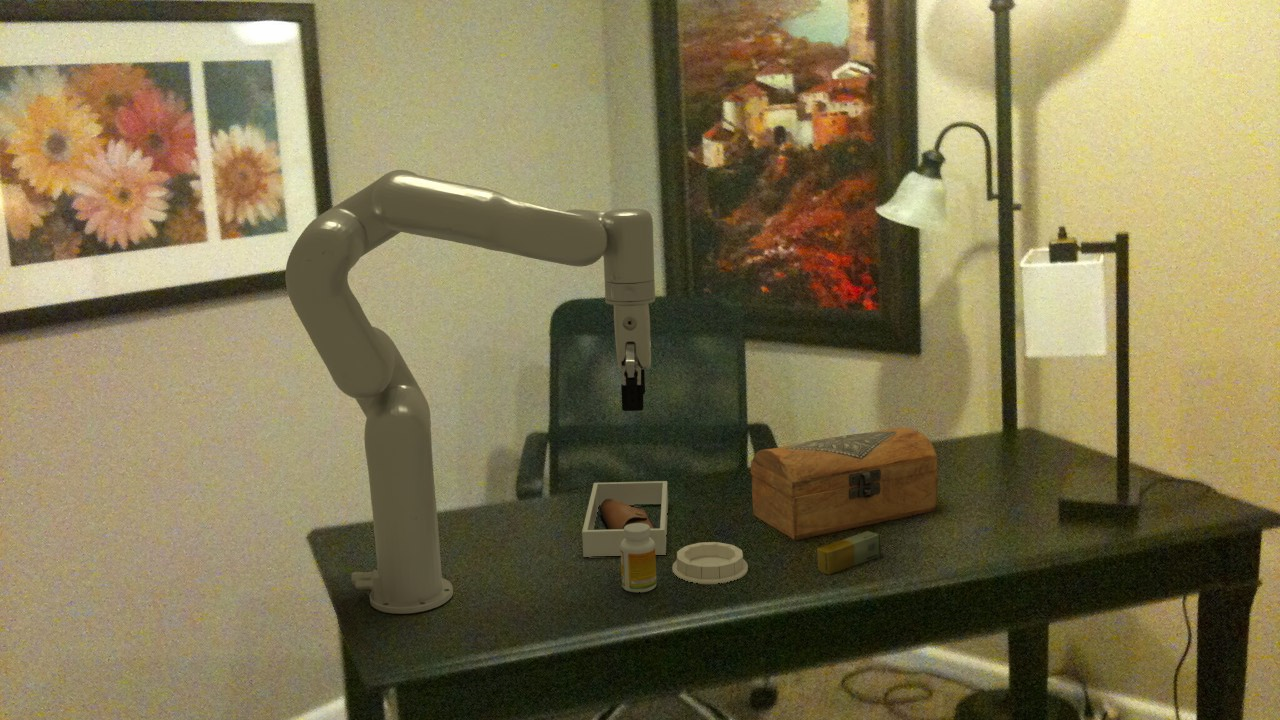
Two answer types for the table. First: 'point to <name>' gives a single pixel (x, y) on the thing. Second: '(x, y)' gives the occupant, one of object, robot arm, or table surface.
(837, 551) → the medication box
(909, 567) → the table surface
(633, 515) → the sunglasses case
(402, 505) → the robot arm
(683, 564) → the coaster tray
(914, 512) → the wooden box
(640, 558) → the supplement bottle
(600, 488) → the frame
